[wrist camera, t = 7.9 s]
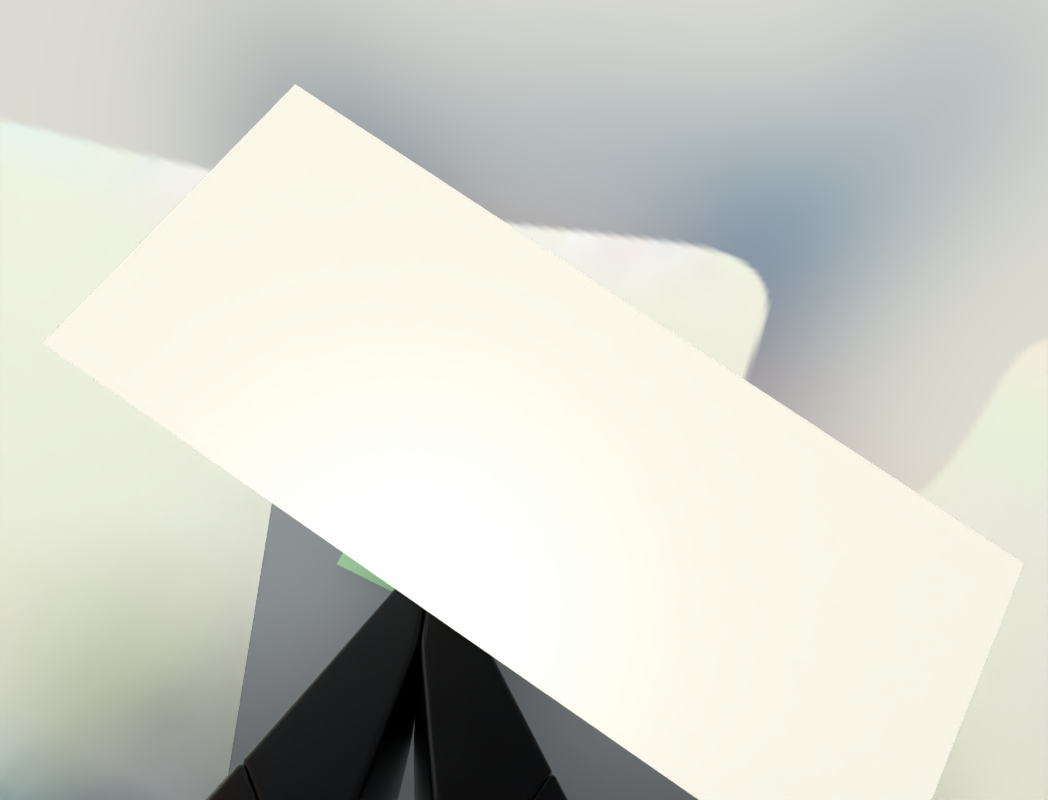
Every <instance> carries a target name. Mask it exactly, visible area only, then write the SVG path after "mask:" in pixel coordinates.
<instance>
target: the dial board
mask: <svg viewBox="0 0 1048 800" xmlns="http://www.w3.org/2000/svg"><path fill="white" fill-rule="evenodd" d="M394 589H395V588H393V587H392V586H391V585H389V584H388V583H386V582H385V581H383V580H382V579H380V578H379V577H378V576H376V575H375V574H373V573H372V572H370V571H369V570H368V569H366V568H365V567H363V566H362V565H360V564H359V563H357V562H356V561H355V560H353V559H352V558H350V557H349V556H347V555H346V554H345V553H343V552H342V551H340V550H339V549H337V548H336V547H334V546H333V545H332V544H330V543H329V542H327V541H326V540H324V539H323V538H322V537H320V536H319V535H317V534H316V533H314V532H313V531H311V530H310V529H309V528H307V527H306V526H304V525H303V524H301V523H300V522H299V521H297V520H296V519H294V518H293V517H291V516H290V515H288V514H287V513H286V512H284V511H283V510H281V509H280V508H278V507H277V506H276V505H274V504H273V503H272V507H271V514H270V520H269V526H268V532H267V538H266V545H265V551H264V557H263V563H262V569H261V576H260V582H259V588H258V594H257V600H256V607H255V613H254V619H253V625H252V631H251V638H250V644H249V650H248V656H247V662H246V668H245V675H244V681H243V687H242V693H241V699H240V706H239V712H238V718H237V724H236V730H235V737H234V743H233V749H232V755H231V761H230V768H229V774H230V773H231V771H232V770H233V769H234V768H235V767H236V766H237V765H238V764H242V765H243V759H244V758H245V757H246V756H247V755H248V754H249V752H250V751H251V750H252V749H253V748H254V747H255V746H256V745H257V743H258V742H259V741H260V740H261V739H262V738H263V737H264V736H265V734H266V733H267V732H268V731H269V730H270V729H271V728H272V727H273V725H274V724H275V723H276V722H277V721H278V720H279V719H280V718H281V716H282V715H283V714H284V713H285V712H286V711H287V710H288V708H289V707H290V706H291V705H292V704H293V703H294V702H295V701H296V699H297V698H298V697H299V696H300V695H301V694H302V693H303V692H304V690H305V689H306V688H307V687H308V686H309V685H310V684H311V683H312V681H313V680H314V679H315V678H316V677H317V676H318V675H319V674H320V672H321V671H322V670H323V669H324V668H325V667H326V666H327V665H328V663H329V662H330V661H331V660H332V659H333V658H334V657H335V656H336V654H337V653H338V652H339V651H340V650H341V649H342V648H343V646H344V645H345V644H346V643H347V642H348V641H349V640H350V639H351V637H352V636H353V635H354V634H355V633H356V632H357V631H358V630H359V628H360V627H361V626H362V625H363V624H364V623H365V622H366V621H367V619H368V618H369V617H370V616H371V615H372V614H373V613H374V612H375V610H376V609H377V608H378V607H379V606H380V605H381V604H382V603H383V601H384V600H385V599H386V598H387V597H388V596H389V595H390V594H391V592H392V591H393V590H394ZM493 658H494V657H493ZM494 660H495V662H496V664H497V666H498V667H499V669H500V671H501V673H502V675H503V677H504V679H505V681H506V683H507V685H508V687H509V689H510V691H511V692H512V694H513V696H514V698H515V700H516V702H517V704H518V706H519V708H520V710H521V712H522V714H523V716H524V717H525V719H526V721H527V723H528V725H529V727H530V729H531V731H532V733H533V735H534V737H535V739H536V741H537V742H538V744H539V746H540V748H541V750H542V752H543V754H544V756H545V758H546V760H547V762H548V764H549V766H550V767H551V769H552V775H555V776H556V777H557V779H558V781H559V783H560V785H561V787H562V789H563V791H564V793H565V795H566V797H567V798H568V800H698V799H697V798H695V797H694V796H692V795H691V794H690V793H688V792H687V791H685V790H684V789H682V788H681V787H679V786H678V785H677V784H675V783H674V782H672V781H671V780H669V779H668V778H667V777H665V776H664V775H662V774H661V773H659V772H658V771H656V770H655V769H654V768H652V767H651V766H649V765H648V764H646V763H645V762H644V761H642V760H641V759H639V758H638V757H636V756H635V755H633V754H632V753H631V752H629V751H628V750H626V749H625V748H623V747H622V746H621V745H619V744H618V743H616V742H615V741H613V740H612V739H610V738H609V737H608V736H606V735H605V734H603V733H602V732H600V731H599V730H598V729H596V728H595V727H593V726H592V725H590V724H589V723H587V722H586V721H585V720H583V719H582V718H580V717H579V716H577V715H576V714H575V713H573V712H572V711H570V710H569V709H567V708H566V707H564V706H563V705H562V704H560V703H559V702H557V701H556V700H554V699H553V698H552V697H550V696H549V695H547V694H546V693H544V692H543V691H541V690H540V689H539V688H537V687H536V686H534V685H533V684H531V683H530V682H529V681H527V680H526V679H524V678H523V677H521V676H520V675H518V674H517V673H516V672H514V671H513V670H511V669H510V668H508V667H507V666H506V665H504V664H503V663H501V662H500V661H498V660H497V659H495V658H494ZM414 726H415V723H414ZM413 753H414V729H413V736H412V742H411V746H410V751H409V756H408V760H407V764H406V768H405V772H404V776H403V780H402V785H401V789H400V793H399V797H398V800H414V757H413ZM229 774H228V775H229Z"/></svg>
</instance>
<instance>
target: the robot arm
mask: <svg viewBox="0 0 1048 800" xmlns="http://www.w3.org/2000/svg"><path fill="white" fill-rule="evenodd" d="M414 723H415V726H414ZM413 729H414V753H413V757H414V800H568V798H567V797H566V795H565V793H564V791H563V789H562V787H561V785H560V783H559V781H558V779H557V777H556V776H555V775H552V769H551V767H550V766H549V764H548V762H547V760H546V758H545V756H544V754H543V752H542V750H541V748H540V746H539V744H538V742H537V741H536V739H535V737H534V735H533V733H532V731H531V729H530V727H529V725H528V723H527V721H526V719H525V717H524V716H523V714H522V712H521V710H520V708H519V706H518V704H517V702H516V700H515V698H514V696H513V694H512V692H511V691H510V689H509V687H508V685H507V683H506V681H505V679H504V677H503V675H502V673H501V671H500V669H499V667H498V666H497V664H496V662H495V660H494V658H493V656H491V655H490V654H488V653H487V652H485V651H484V650H483V649H481V648H480V647H478V646H477V645H475V644H474V643H472V642H471V641H470V640H468V639H467V638H465V637H464V636H462V635H461V634H460V633H458V632H457V631H455V630H454V629H452V628H451V627H449V626H448V625H447V624H445V623H444V622H442V621H441V620H439V619H438V618H437V617H435V616H434V615H432V614H431V613H429V612H428V611H426V610H425V609H424V608H422V607H421V606H419V605H418V604H416V603H415V602H414V601H412V600H411V599H409V598H408V597H406V596H405V595H403V594H402V593H401V592H399V591H398V590H396V589H394V590H393V591H392V592H391V594H390V595H389V596H388V597H387V598H386V599H385V600H384V601H383V603H382V604H381V605H380V606H379V607H378V608H377V609H376V610H375V612H374V613H373V614H372V615H371V616H370V617H369V618H368V619H367V621H366V622H365V623H364V624H363V625H362V626H361V627H360V628H359V630H358V631H357V632H356V633H355V634H354V635H353V636H352V637H351V639H350V640H349V641H348V642H347V643H346V644H345V645H344V646H343V648H342V649H341V650H340V651H339V652H338V653H337V654H336V656H335V657H334V658H333V659H332V660H331V661H330V662H329V663H328V665H327V666H326V667H325V668H324V669H323V670H322V671H321V672H320V674H319V675H318V676H317V677H316V678H315V679H314V680H313V681H312V683H311V684H310V685H309V686H308V687H307V688H306V689H305V690H304V692H303V693H302V694H301V695H300V696H299V697H298V698H297V699H296V701H295V702H294V703H293V704H292V705H291V706H290V707H289V708H288V710H287V711H286V712H285V713H284V714H283V715H282V716H281V718H280V719H279V720H278V721H277V722H276V723H275V724H274V725H273V727H272V728H271V729H270V730H269V731H268V732H267V733H266V734H265V736H264V737H263V738H262V739H261V740H260V741H259V742H258V743H257V745H256V746H255V747H254V748H253V749H252V750H251V751H250V752H249V754H248V755H247V756H246V757H245V758H244V759H243V765H242V764H238V765H237V766H236V767H235V768H234V769H233V770H232V771H231V773H230V774H229V775H228V776H227V777H226V778H225V779H224V781H223V782H222V783H221V784H220V785H219V786H218V787H217V788H216V790H215V791H214V792H213V793H212V794H211V795H210V796H209V797H208V798H207V799H206V800H398V797H399V793H400V789H401V785H402V780H403V776H404V772H405V768H406V764H407V760H408V756H409V751H410V746H411V742H412V736H413Z"/></svg>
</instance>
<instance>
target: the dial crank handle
mask: <svg viewBox="0 0 1048 800" xmlns="http://www.w3.org/2000/svg"><path fill="white" fill-rule="evenodd" d="M43 344H44V345H45V346H47V347H48V348H50V349H51V350H53V351H54V352H56V353H57V354H58V355H60V356H61V357H63V358H64V359H66V360H67V361H68V362H70V363H71V364H73V365H74V366H76V367H77V368H79V369H80V370H81V371H83V372H84V373H86V374H87V375H89V376H90V377H91V378H93V379H94V380H96V381H97V382H99V383H100V384H102V385H103V386H104V387H106V388H107V389H109V390H110V391H112V392H113V393H114V394H116V395H117V396H119V397H120V398H122V399H123V400H125V401H126V402H127V403H129V404H130V405H132V406H133V407H135V408H136V409H137V410H139V411H140V412H142V413H143V414H145V415H146V416H148V417H149V418H150V419H152V420H153V421H155V422H156V423H158V424H159V425H161V426H162V427H163V428H165V429H166V430H168V431H169V432H171V433H172V434H173V435H175V436H176V437H178V438H179V439H181V440H182V441H183V442H185V443H186V444H188V445H189V446H191V447H192V448H194V449H195V450H196V451H198V452H199V453H201V454H202V455H204V456H205V457H207V458H208V459H209V460H211V461H212V462H214V463H215V464H217V465H218V466H219V467H221V468H222V469H224V470H225V471H227V472H228V473H230V474H231V475H232V476H234V477H235V478H237V479H238V480H240V481H241V482H242V483H244V484H245V485H247V486H248V487H250V488H251V489H253V490H254V491H255V492H257V493H258V494H260V495H261V496H263V497H264V498H265V499H267V500H268V501H270V502H271V503H273V504H274V505H276V506H277V507H278V508H280V509H281V510H283V511H284V512H286V513H287V514H288V515H290V516H291V517H293V518H294V519H296V520H297V521H299V522H300V523H301V524H303V525H304V526H306V527H307V528H309V529H310V530H311V531H313V532H314V533H316V534H317V535H319V536H320V537H322V538H323V539H324V540H326V541H327V542H329V543H330V544H332V545H333V546H334V547H336V548H337V549H339V550H340V551H342V552H343V553H345V554H346V555H347V556H349V557H350V558H352V559H353V560H355V561H356V562H357V563H359V564H360V565H362V566H363V567H365V568H366V569H368V570H369V571H370V572H372V573H373V574H375V575H376V576H378V577H379V578H380V579H382V580H383V581H385V582H386V583H388V584H389V585H391V586H392V587H393V588H395V589H396V590H398V591H399V592H401V593H402V594H403V595H405V596H406V597H408V598H409V599H411V600H412V601H414V602H415V603H416V604H418V605H419V606H421V607H422V608H424V609H425V610H426V611H428V612H429V613H431V614H432V615H434V616H435V617H437V618H438V619H439V620H441V621H442V622H444V623H445V624H447V625H448V626H449V627H451V628H452V629H454V630H455V631H457V632H458V633H460V634H461V635H462V636H464V637H465V638H467V639H468V640H470V641H471V642H472V643H474V644H475V645H477V646H478V647H480V648H481V649H483V650H484V651H485V652H487V653H488V654H490V655H491V656H493V657H494V658H495V659H497V660H498V661H500V662H501V663H503V664H504V665H506V666H507V667H508V668H510V669H511V670H513V671H514V672H516V673H517V674H518V675H520V676H521V677H523V678H524V679H526V680H527V681H529V682H530V683H531V684H533V685H534V686H536V687H537V688H539V689H540V690H541V691H543V692H544V693H546V694H547V695H549V696H550V697H552V698H553V699H554V700H556V701H557V702H559V703H560V704H562V705H563V706H564V707H566V708H567V709H569V710H570V711H572V712H573V713H575V714H576V715H577V716H579V717H580V718H582V719H583V720H585V721H586V722H587V723H589V724H590V725H592V726H593V727H595V728H596V729H598V730H599V731H600V732H602V733H603V734H605V735H606V736H608V737H609V738H610V739H612V740H613V741H615V742H616V743H618V744H619V745H621V746H622V747H623V748H625V749H626V750H628V751H629V752H631V753H632V754H633V755H635V756H636V757H638V758H639V759H641V760H642V761H644V762H645V763H646V764H648V765H649V766H651V767H652V768H654V769H655V770H656V771H658V772H659V773H661V774H662V775H664V776H665V777H667V778H668V779H669V780H671V781H672V782H674V783H675V784H677V785H678V786H679V787H681V788H682V789H684V790H685V791H687V792H688V793H690V794H691V795H692V796H694V797H695V798H697V799H698V800H932V798H933V795H934V793H935V790H936V788H937V785H938V783H939V780H940V777H941V775H942V772H943V770H944V767H945V765H946V762H947V760H948V757H949V754H950V752H951V749H952V747H953V744H954V742H955V739H956V737H957V734H958V731H959V729H960V726H961V724H962V721H963V719H964V716H965V714H966V711H967V708H968V706H969V703H970V701H971V698H972V696H973V693H974V691H975V688H976V685H977V683H978V680H979V678H980V675H981V673H982V670H983V668H984V665H985V662H986V660H987V657H988V655H989V652H990V650H991V647H992V645H993V642H994V639H995V637H996V634H997V632H998V629H999V627H1000V624H1001V622H1002V619H1003V616H1004V614H1005V611H1006V609H1007V606H1008V604H1009V601H1010V599H1011V596H1012V594H1013V591H1014V588H1015V586H1016V583H1017V581H1018V578H1019V576H1020V573H1021V571H1022V568H1023V565H1024V563H1023V562H1021V561H1020V560H1018V559H1017V558H1015V557H1014V556H1012V555H1011V554H1009V553H1008V552H1006V551H1004V550H1003V549H1001V548H1000V547H998V546H997V545H995V544H994V543H992V542H991V541H989V540H988V539H986V538H985V537H983V536H982V535H980V534H979V533H977V532H976V531H974V530H973V529H971V528H969V527H968V526H966V525H965V524H963V523H962V522H960V521H959V520H957V519H956V518H954V517H953V516H951V515H950V514H948V513H947V512H945V511H944V510H942V509H941V508H939V507H938V506H936V505H934V504H933V503H931V502H930V501H928V500H927V499H925V498H924V497H922V496H921V495H919V494H918V493H916V492H915V491H913V490H912V489H910V488H909V487H907V486H906V485H904V484H903V483H901V482H899V481H898V480H896V479H895V478H893V477H892V476H890V475H889V474H887V473H886V472H884V471H883V470H881V469H880V468H878V467H877V466H875V465H874V464H872V463H871V462H869V461H868V460H866V459H864V458H863V457H861V456H860V455H858V454H857V453H855V452H854V451H852V450H850V449H849V448H848V447H846V446H845V445H843V444H842V443H840V442H839V441H837V440H835V439H834V438H832V437H831V436H829V435H828V434H826V433H825V432H823V431H822V430H820V429H819V428H817V427H816V426H814V425H813V424H811V423H810V422H808V421H807V420H805V419H804V418H802V417H801V416H799V415H798V414H796V413H794V412H793V411H791V410H790V409H788V408H787V407H785V406H784V405H782V404H780V403H779V402H778V401H776V400H775V399H773V398H772V397H770V396H769V395H767V394H766V393H764V392H762V391H761V390H759V389H758V388H756V387H755V386H753V385H751V384H750V383H749V382H747V381H746V380H744V379H743V378H741V377H740V376H738V375H737V374H735V373H734V372H732V371H731V370H729V369H728V368H726V367H724V366H723V365H721V364H720V363H718V362H717V361H715V360H714V359H712V358H711V357H709V356H708V355H706V354H705V353H703V352H702V351H700V350H699V349H697V348H696V347H694V346H693V345H691V344H689V343H688V342H686V341H685V340H683V339H682V338H680V337H679V336H677V335H676V334H674V333H673V332H671V331H670V330H668V329H667V328H665V327H664V326H662V325H661V324H659V323H658V322H656V321H654V320H653V319H651V318H650V317H648V316H647V315H645V314H644V313H642V312H641V311H639V310H638V309H636V308H635V307H633V306H632V305H630V304H629V303H627V302H626V301H624V300H623V299H621V298H619V297H618V296H616V295H615V294H613V293H612V292H610V291H609V290H607V289H606V288H604V287H603V286H601V285H600V284H598V283H597V282H595V281H594V280H592V279H591V278H589V277H588V276H586V275H584V274H583V273H581V272H580V271H578V270H577V269H575V268H574V267H572V266H571V265H569V264H568V263H566V262H565V261H563V260H562V259H560V258H559V257H557V256H556V255H554V254H553V253H551V252H549V251H548V250H546V249H545V248H543V247H542V246H540V245H539V244H537V243H536V242H534V241H533V240H531V239H530V238H528V237H527V236H525V235H524V234H522V233H521V232H519V231H518V230H516V229H514V228H513V227H511V226H510V225H508V224H507V223H505V222H504V221H502V220H501V219H499V218H498V217H496V216H495V215H493V214H492V213H490V212H489V211H487V210H486V209H484V208H482V207H481V206H479V205H478V204H476V203H475V202H473V201H472V200H470V199H469V198H467V197H466V196H464V195H462V194H461V193H460V192H458V191H457V190H455V189H454V188H452V187H450V186H449V185H447V184H446V183H444V182H443V181H441V180H440V179H438V178H437V177H435V176H434V175H432V174H431V173H429V172H428V171H426V170H425V169H423V168H422V167H420V166H418V165H417V164H415V163H414V162H412V161H411V160H409V159H408V158H406V157H404V156H403V155H402V154H400V153H399V152H397V151H396V150H394V149H393V148H391V147H390V146H388V145H387V144H385V143H383V142H382V141H380V140H379V139H378V138H376V137H374V136H373V135H371V134H370V133H368V132H367V131H365V130H364V129H362V128H361V127H359V126H357V125H356V124H355V123H353V122H351V121H350V120H349V119H347V118H345V117H344V116H342V115H341V114H339V113H338V112H336V111H335V110H333V109H332V108H330V107H329V106H327V105H326V104H324V103H323V102H321V101H320V100H318V99H316V98H315V97H313V96H312V95H311V94H309V93H307V92H306V91H304V90H303V89H301V88H300V87H298V86H297V85H294V86H293V87H292V88H291V89H290V90H289V91H288V92H287V93H286V94H285V95H284V96H283V97H282V98H281V99H280V100H279V101H278V102H277V103H276V104H275V105H274V106H273V107H272V109H271V110H270V111H269V112H268V113H267V114H266V115H265V116H264V117H263V118H262V119H261V120H260V121H259V122H258V123H257V124H256V125H255V126H254V127H253V128H252V129H251V130H250V131H249V132H248V133H247V134H246V135H245V136H244V137H243V138H242V139H241V140H240V141H239V142H238V143H237V144H236V146H234V147H233V148H232V149H231V151H230V152H229V153H228V154H227V155H226V156H225V157H224V158H223V159H222V160H221V161H220V162H219V163H218V164H217V165H216V166H215V167H214V168H213V169H212V170H211V171H210V172H209V173H208V174H207V175H206V176H205V177H204V178H203V179H202V180H201V181H200V182H199V183H198V184H197V185H196V186H195V187H194V188H193V189H192V191H191V192H190V193H189V194H188V195H187V196H186V197H185V198H184V199H183V200H182V201H181V202H180V203H179V204H178V205H177V206H176V207H175V208H174V209H173V210H172V211H171V212H170V213H169V214H168V215H167V216H166V217H165V218H164V219H163V220H162V221H161V222H160V223H159V224H158V225H157V226H156V227H155V228H154V229H153V231H152V232H151V233H150V234H149V235H148V236H147V237H146V238H145V239H144V240H143V241H142V242H141V243H140V244H139V245H138V246H137V247H136V248H135V249H134V250H133V251H132V252H131V253H130V254H129V255H128V256H127V257H126V258H125V259H124V260H123V261H122V262H121V263H120V264H119V265H118V266H117V267H116V268H115V269H114V271H113V272H112V273H111V274H110V275H109V276H108V277H107V278H106V279H105V280H104V281H103V282H102V283H101V284H100V285H99V286H98V287H97V288H96V289H95V290H94V291H93V292H92V293H91V294H90V295H89V296H88V297H87V298H86V299H85V300H84V301H83V302H82V303H81V304H80V305H79V306H78V307H77V308H76V309H75V311H74V312H73V313H72V314H71V315H70V316H69V317H68V318H67V319H66V320H65V321H64V322H63V323H62V324H61V325H60V326H59V327H58V328H57V329H56V330H55V331H54V332H53V333H52V334H51V335H50V336H49V337H48V338H47V339H46V340H45V341H44V342H43Z"/></svg>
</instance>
